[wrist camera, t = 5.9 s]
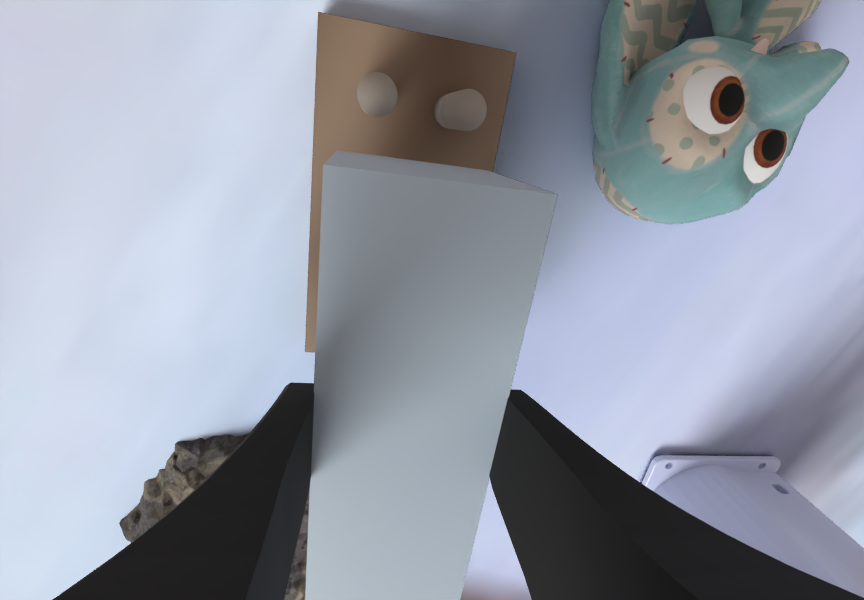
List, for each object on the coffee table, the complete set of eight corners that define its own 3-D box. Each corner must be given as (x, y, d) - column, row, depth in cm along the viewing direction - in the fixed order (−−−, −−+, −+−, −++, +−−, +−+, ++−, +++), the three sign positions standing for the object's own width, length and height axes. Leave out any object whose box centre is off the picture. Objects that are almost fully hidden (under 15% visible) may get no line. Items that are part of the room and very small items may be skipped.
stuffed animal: (1065, -26, 13) (831, 308, 14) (809, 49, 20) (663, 270, 20) (914, -383, 9) (611, 103, 10) (663, -140, 16) (495, 138, 17)
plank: (487, 170, 13) (558, 194, 8) (433, 473, 17) (460, 599, 13) (337, 150, 12) (323, 164, 7) (320, 475, 16) (304, 610, 12)
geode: (96, 571, 24) (335, 620, 29) (51, 648, 21) (331, 689, 25) (227, 303, 19) (488, 417, 24) (196, 344, 16) (510, 468, 20)
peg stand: (507, 56, 16) (549, 38, 13) (451, 349, 21) (470, 397, 17) (320, 18, 15) (307, -14, 11) (307, 341, 20) (295, 391, 16)
